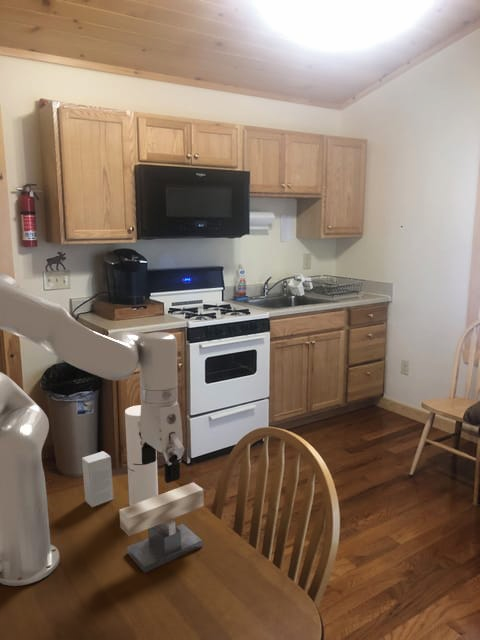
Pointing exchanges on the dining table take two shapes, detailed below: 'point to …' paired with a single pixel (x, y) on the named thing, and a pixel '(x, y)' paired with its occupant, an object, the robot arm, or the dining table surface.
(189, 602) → the dining table surface
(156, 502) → the ash bar
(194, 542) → the fulcrum stand
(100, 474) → the skincare box
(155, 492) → the cylindrical container
